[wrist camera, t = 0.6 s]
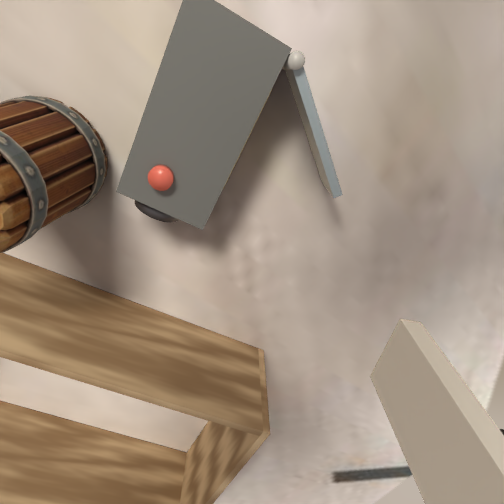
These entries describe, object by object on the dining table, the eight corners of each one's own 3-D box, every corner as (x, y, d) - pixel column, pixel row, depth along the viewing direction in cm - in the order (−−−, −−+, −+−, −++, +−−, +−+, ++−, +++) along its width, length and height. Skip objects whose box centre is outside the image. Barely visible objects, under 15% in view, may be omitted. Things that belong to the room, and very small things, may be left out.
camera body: (198, 1, 28) (186, -19, 22) (284, 53, 30) (295, 48, 24) (131, 184, 35) (108, 206, 29) (205, 217, 37) (198, 245, 31)
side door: (278, 58, 30) (286, 55, 25) (291, 52, 30) (301, 48, 25) (319, 181, 35) (332, 200, 30) (330, 177, 35) (346, 195, 30)
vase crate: (-63, 228, 37) (-187, 292, 26) (263, 350, 46) (270, 433, 35) (-80, 382, 47) (-175, 473, 36) (189, 456, 56) (177, 546, 45)
